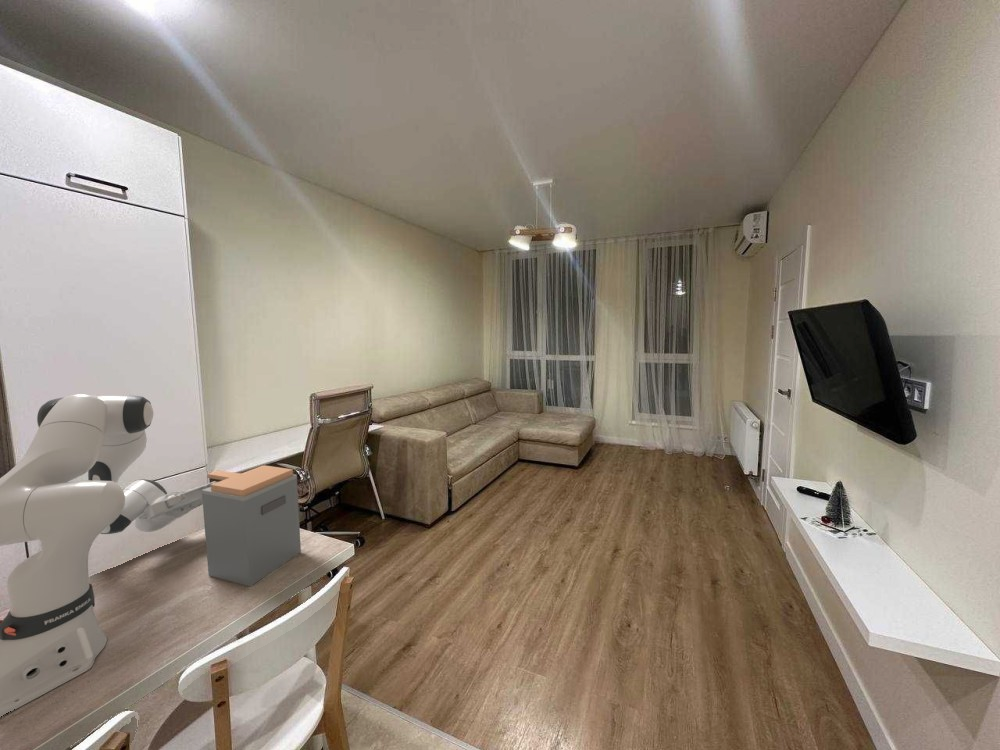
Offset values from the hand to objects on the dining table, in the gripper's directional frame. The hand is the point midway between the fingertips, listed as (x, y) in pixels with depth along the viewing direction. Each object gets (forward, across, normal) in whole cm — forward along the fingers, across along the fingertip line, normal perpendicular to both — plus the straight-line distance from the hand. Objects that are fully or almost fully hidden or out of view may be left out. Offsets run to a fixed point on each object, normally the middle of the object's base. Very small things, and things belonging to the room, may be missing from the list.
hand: (197, 490), depth 124 cm
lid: (+19, 0, +4) cm, 20 cm away
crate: (+10, 0, +29) cm, 31 cm away
